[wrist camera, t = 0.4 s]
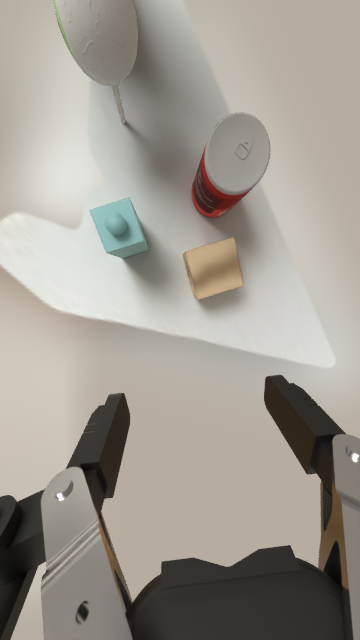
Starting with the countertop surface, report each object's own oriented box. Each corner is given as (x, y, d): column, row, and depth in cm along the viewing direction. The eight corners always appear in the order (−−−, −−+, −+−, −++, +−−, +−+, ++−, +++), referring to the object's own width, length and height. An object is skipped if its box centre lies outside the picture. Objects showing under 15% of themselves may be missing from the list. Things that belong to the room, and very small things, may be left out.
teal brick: (111, 228, 32) (85, 207, 21) (139, 220, 32) (127, 194, 21) (122, 258, 33) (103, 251, 22) (149, 249, 33) (142, 239, 22)
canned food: (241, 177, 32) (282, 129, 21) (224, 225, 33) (253, 204, 23) (200, 158, 30) (221, 96, 20) (184, 209, 32) (195, 177, 21)
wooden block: (182, 254, 34) (185, 251, 29) (223, 242, 34) (233, 237, 29) (193, 296, 36) (198, 299, 31) (232, 284, 36) (243, 286, 31)
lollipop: (93, 95, 27) (13, -109, 13) (140, 87, 27) (117, -120, 13) (107, 152, 29) (52, 33, 14) (152, 145, 29) (142, 20, 15)
